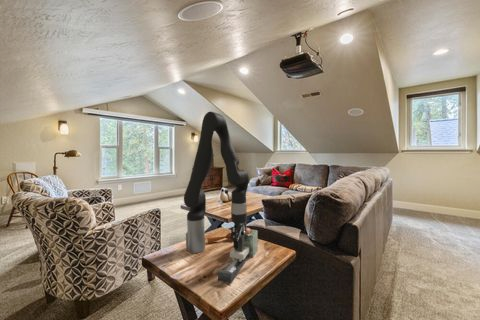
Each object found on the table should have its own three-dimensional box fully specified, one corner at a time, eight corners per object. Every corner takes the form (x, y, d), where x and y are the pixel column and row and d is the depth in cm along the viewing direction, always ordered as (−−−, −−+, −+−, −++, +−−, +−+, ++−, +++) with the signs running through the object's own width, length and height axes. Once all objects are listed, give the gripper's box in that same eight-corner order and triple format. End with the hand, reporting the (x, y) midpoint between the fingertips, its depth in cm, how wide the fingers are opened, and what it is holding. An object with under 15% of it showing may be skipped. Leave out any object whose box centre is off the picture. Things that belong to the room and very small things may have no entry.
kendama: (206, 234, 130) (237, 227, 136) (207, 245, 129) (239, 237, 136) (208, 236, 124) (240, 229, 131) (209, 247, 123) (242, 239, 130)
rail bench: (235, 284, 87) (235, 258, 87) (213, 279, 91) (213, 254, 90) (257, 250, 117) (257, 230, 116) (240, 247, 120) (240, 228, 120)
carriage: (243, 262, 100) (243, 239, 100) (229, 260, 103) (229, 237, 103) (249, 254, 108) (248, 233, 107) (236, 252, 110) (235, 231, 110)
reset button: (240, 237, 113) (240, 230, 113) (243, 234, 117) (243, 227, 117) (248, 238, 112) (248, 231, 112) (251, 235, 116) (251, 228, 116)
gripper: (237, 207, 112) (237, 237, 113) (225, 214, 99) (226, 249, 100) (250, 208, 110) (251, 239, 110) (241, 216, 96) (241, 252, 97)
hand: (239, 244), depth 105 cm, fingers open, 8 cm apart
